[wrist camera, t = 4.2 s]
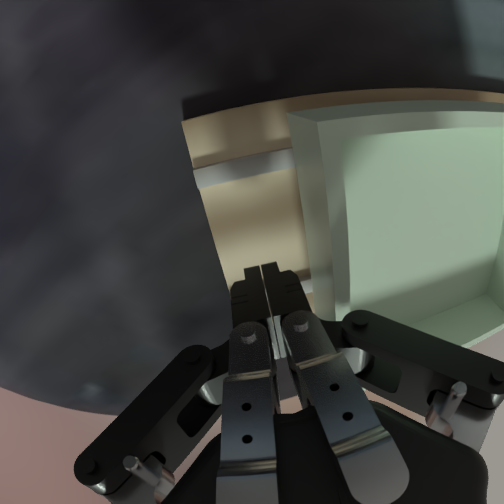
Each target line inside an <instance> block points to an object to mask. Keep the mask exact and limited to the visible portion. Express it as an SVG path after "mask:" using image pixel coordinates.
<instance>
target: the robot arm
mask: <svg viewBox="0 0 504 504" xmlns="http://www.w3.org/2000/svg"><path fill="white" fill-rule="evenodd" d="M261 270H262V275H263V279H264V283H263V279H262V275H261ZM261 270H260V266H259V265H257V266H253V267H248V268H244V276H245V280H240V281H236V282H234V283H233V285H232V287H231V289H230V295H231V305H232V306H231V308H232V320H233V330H232V331H231V333H230V338H229V340H228V341H227V342H225V343H224V344H222V345H221V346H219V347H216V348H214V349H212V350H210V349H209V348H208V347H206V346H203V345H193V346H189V347H187V348H185V349H184V350H182V351H181V352H180V353H179V354H178V355H177V356H176V357H175V358H174V359H173V360H172V361H171V362H170V363H169V364H168V365H167V366H166V368H165V369H164V370H163V371H162V372H161V373H160V374H159V375H158V376H157V377H156V378H155V379H154V380H153V381H152V382H151V383H150V384H149V385H148V386H147V387H146V388H145V389H144V390H143V391H142V392H141V393H140V394H139V395H138V396H137V397H136V398H135V400H134V401H133V402H132V403H131V404H130V405H129V406H128V407H127V408H126V409H125V410H124V411H123V412H122V413H121V414H120V415H119V416H118V417H117V418H116V419H115V420H114V421H113V422H112V423H111V424H110V425H109V426H108V427H107V428H106V429H105V430H104V431H103V432H102V433H101V434H100V435H99V436H98V437H97V438H96V439H95V440H94V441H93V442H92V443H91V444H90V445H89V446H88V447H87V448H86V449H85V450H84V451H83V452H82V453H81V454H80V455H79V456H78V458H77V459H76V461H75V464H74V474H75V476H76V478H77V479H78V481H79V482H80V483H82V484H83V485H85V486H87V487H89V488H90V489H92V490H93V491H94V492H96V493H97V494H99V495H101V496H103V497H105V498H106V499H108V500H109V501H110V502H111V503H112V504H487V500H486V497H487V486H488V469H487V466H486V463H485V461H484V459H483V457H482V456H481V455H480V454H479V451H480V449H481V446H482V444H483V442H484V439H485V437H486V434H487V432H488V429H489V426H490V424H491V421H492V418H493V415H494V413H495V410H496V409H497V408H498V406H499V405H500V404H501V402H502V401H503V400H504V362H501V361H499V360H496V359H493V358H491V357H488V356H485V355H483V354H480V353H478V352H475V351H472V350H470V349H467V348H464V347H462V346H459V345H456V344H454V343H451V342H448V341H446V340H443V339H440V338H438V337H435V336H433V335H430V334H427V333H425V332H422V331H420V330H417V329H414V328H412V327H409V326H407V325H404V324H401V323H399V322H396V321H394V320H391V319H389V318H386V317H383V316H381V315H378V314H376V313H373V312H371V311H367V310H354V311H351V312H349V313H348V314H346V315H345V316H344V318H343V320H342V321H326V320H322V319H320V318H318V317H317V315H315V314H314V313H313V312H312V310H311V307H310V305H309V302H308V300H307V297H306V295H305V292H304V290H303V287H302V285H301V283H300V280H299V277H298V275H297V274H295V273H294V272H293V271H291V270H286V271H282V272H280V271H279V268H278V265H277V262H276V261H275V262H271V263H266V264H262V265H261ZM264 284H265V287H264ZM265 289H266V292H265ZM266 294H267V296H266ZM267 299H268V300H267ZM268 303H269V304H268ZM269 307H270V309H269ZM270 312H271V313H270ZM271 316H272V317H271ZM272 320H273V322H272ZM273 324H274V327H273ZM274 329H275V332H274ZM275 333H276V337H277V341H278V346H279V350H280V354H281V358H283V357H287V361H288V365H289V371H290V375H291V378H292V380H293V383H294V386H295V389H296V392H297V394H298V397H299V400H300V403H301V406H302V409H303V410H301V411H299V412H296V413H293V414H281V409H280V399H279V390H278V380H277V374H276V372H277V366H276V361H275V359H279V358H280V357H279V352H278V347H277V342H276V337H275ZM362 388H364V389H366V390H368V391H371V392H373V393H375V394H377V395H379V396H381V397H383V398H385V399H387V400H389V401H391V402H394V403H396V404H398V405H400V406H402V407H404V408H406V409H408V410H410V411H413V412H415V413H418V414H419V415H422V416H424V417H425V420H426V424H427V426H428V427H427V426H425V425H423V424H421V423H419V422H417V421H415V420H413V419H411V418H409V417H407V416H405V415H403V414H401V413H399V412H397V411H395V410H393V409H392V408H390V407H388V406H385V405H383V404H381V403H378V402H375V401H371V400H368V398H367V396H366V394H365V393H364V391H363V389H362ZM221 414H222V424H221V433H220V434H218V435H217V436H216V437H214V438H213V439H212V440H211V441H210V442H209V443H208V444H207V445H206V447H205V448H204V449H203V450H202V452H201V453H200V454H199V456H198V457H197V458H196V460H195V461H194V462H193V464H192V465H191V467H189V469H188V470H187V471H186V473H185V474H184V475H183V476H182V478H181V479H180V480H179V482H178V483H177V484H176V485H175V478H174V475H173V472H174V471H175V470H176V469H177V468H178V467H179V465H180V464H181V463H182V462H183V461H184V459H185V458H186V457H187V456H188V455H189V454H190V452H191V451H192V450H193V449H194V448H195V446H196V445H197V444H198V443H199V442H200V440H201V439H202V438H203V437H204V436H205V434H206V433H207V432H208V431H209V429H210V428H211V427H212V426H213V424H214V423H215V422H216V421H217V419H218V418H219V417H220V416H221ZM174 485H175V486H174Z"/></svg>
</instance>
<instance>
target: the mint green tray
mask: <svg viewBox="0 0 504 504" xmlns="http://www.w3.org/2000/svg"><path fill="white" fill-rule="evenodd" d="M286 114H287V119H288V124H289V130H290V136H291V141H292V147H293V153H294V159H295V165H296V171H297V177H298V184H299V190H300V197H301V204H302V210H303V218H304V225H305V232H306V240H307V248H308V256H309V264H310V272H311V281H312V290H313V300H314V310H315V315H317V317H318V318H320V319H322V320H326V321H342V320H343V318H344V316H345V315H346V314H348V313H349V312H351V311H354V310H367V311H371V312H373V313H376V314H378V315H381V316H383V317H386V318H389V319H391V320H394V321H396V322H399V323H401V324H404V325H407V326H409V327H412V328H414V329H417V330H420V331H422V332H425V333H427V334H430V335H433V336H435V337H438V338H440V339H443V340H446V341H448V342H451V343H454V344H456V345H459V346H462V347H464V348H469V347H471V346H473V345H474V344H476V343H478V342H480V341H482V340H484V339H486V338H488V337H489V336H491V335H493V334H495V333H497V332H498V331H500V330H502V329H504V103H496V102H483V101H462V100H409V101H387V102H372V103H360V104H349V105H340V106H331V107H323V108H315V109H308V110H301V111H295V112H289V113H286ZM362 389H363V391H364V390H366V389H364V388H362Z"/></svg>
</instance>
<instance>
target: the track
mask: <svg viewBox="0 0 504 504" xmlns="http://www.w3.org/2000/svg"><path fill="white" fill-rule="evenodd" d="M409 100H462V101H483V102H496V103H504V93H497V92H488V91H478V90H465V89H447V88H384V89H365V90H351V91H340V92H330V93H321V94H312V95H305V96H298V97H291V98H284V99H278V100H272V101H267V102H261V103H256V104H251V105H246V106H241V107H236V108H231V109H227V110H222V111H218V112H214V113H210V114H206V115H202V116H198V117H194V118H190V119H187V120H183V121H182V126H183V130H184V134H185V138H186V141H187V145H188V149H189V153H190V156H191V160H192V164H193V168H194V169H193V173H194V176H195V180H196V184H197V187H198V189H200V193H201V197H202V200H203V204H204V207H205V211H206V214H207V218H208V221H209V225H210V228H211V232H212V235H213V238H214V242H215V245H216V249H217V252H218V255H219V259H220V262H221V265H222V269H223V272H224V275H225V279H226V282H227V285H228V288H229V292H230V289H231V287H232V285H233V283H234V282H236V281H240V280H245V276H244V268H248V267H253V266H257V265H259V266H260V270H261V265H262V264H266V263H271V262H275V261H276V262H277V265H278V268H279V271H280V272H282V271H286V270H291V271H293V272H294V273H295V274H297V275H298V277H299V280H300V283H301V285H302V287H303V290H304V292H305V295H306V297H307V300H308V302H309V305H310V307H311V310H312V312H313V313H314V314H315V310H314V300H313V290H312V281H311V272H310V264H309V256H308V248H307V240H306V232H305V225H304V218H303V210H302V204H301V197H300V190H299V184H298V177H297V171H296V165H295V159H294V153H293V147H292V141H291V136H290V130H289V124H288V119H287V114H286V113H289V112H295V111H301V110H308V109H315V108H323V107H331V106H340V105H349V104H360V103H372V102H387V101H409ZM261 275H262V270H261ZM262 279H263V275H262ZM263 283H264V279H263ZM264 287H265V284H264ZM265 292H266V289H265ZM266 296H267V294H266ZM230 299H231V295H230ZM267 300H268V299H267ZM268 304H269V303H268ZM269 309H270V307H269ZM270 313H271V312H270ZM271 317H272V316H271ZM272 322H273V320H272ZM273 325H274V324H273Z"/></svg>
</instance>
